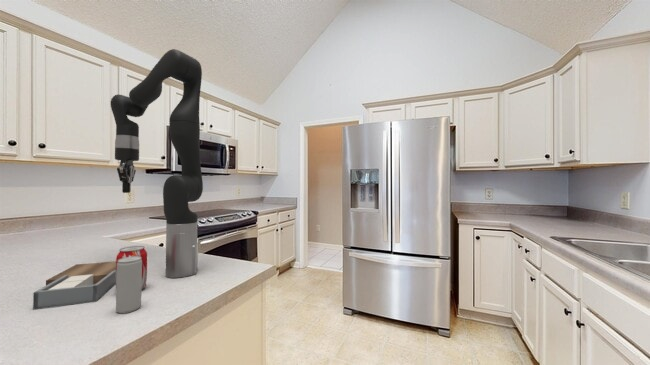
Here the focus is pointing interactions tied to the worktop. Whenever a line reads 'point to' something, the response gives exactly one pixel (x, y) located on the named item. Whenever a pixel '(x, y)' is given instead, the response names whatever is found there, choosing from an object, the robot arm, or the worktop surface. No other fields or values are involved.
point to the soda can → (133, 252)
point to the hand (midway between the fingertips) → (126, 192)
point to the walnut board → (87, 271)
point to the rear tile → (81, 279)
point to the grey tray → (72, 293)
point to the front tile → (68, 285)
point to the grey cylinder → (128, 284)
